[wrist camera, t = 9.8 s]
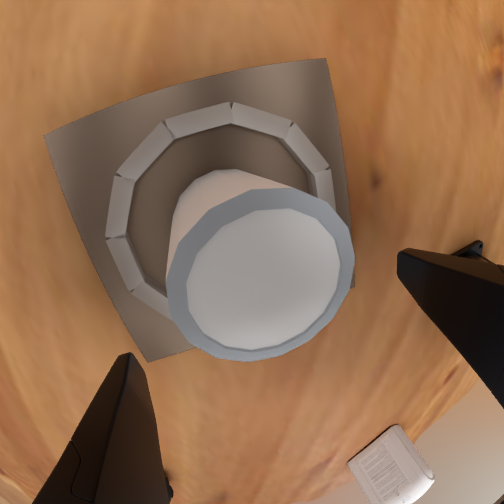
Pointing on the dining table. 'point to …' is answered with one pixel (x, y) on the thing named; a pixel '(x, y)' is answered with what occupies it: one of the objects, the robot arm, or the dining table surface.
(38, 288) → the dining table surface
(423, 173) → the dining table surface
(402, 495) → the white rounded block
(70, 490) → the robot arm
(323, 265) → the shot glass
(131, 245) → the ring holder
